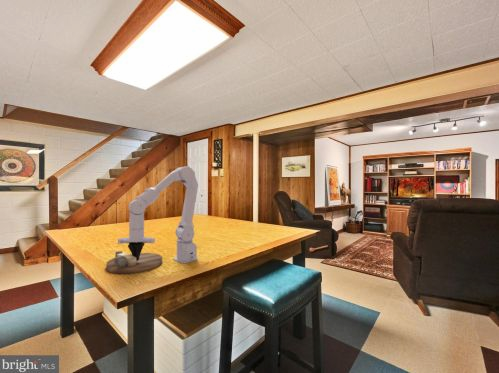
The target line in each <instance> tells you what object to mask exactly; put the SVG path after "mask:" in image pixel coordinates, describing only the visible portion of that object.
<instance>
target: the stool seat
mask: <svg viewBox="0 0 499 373" xmlns="http://www.w3.org/2000/svg"><path fill="white" fill-rule="evenodd" d="M127 254H128V253H127ZM128 255H131V256H132V253H129V254H128ZM105 264H106V265H105V266H106V267H105V268H106V271H107V272H109V273H111V274H115V275H117V274H118V275H132V274H139V273H140V274H141V273H143V272H144V273H145V272H149V271H152V270H154V269H156V268H159V267H160V266H161V265H162V264H163V256H162V255H160V254H158V253H155V252H154V253H153V252H150V253H149V252H141V253H140V257H139V260H138V261H136V265H134V266H128V265H126V260H125V259H123V258H121V257H113V258H112V259H110V260H108V261H107V262H106V263H105Z"/></svg>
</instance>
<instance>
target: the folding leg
mask: <svg viewBox="0 0 499 373" xmlns="http://www.w3.org/2000/svg"><path fill="white" fill-rule="evenodd" d="M114 254H115V257H121V258H123V259H125V260H126V265H128V266H134V265H136V257H133V256H131V255H128V253H124V252H123V251H122V250H118V251H115V252H114ZM115 257H114V258H115Z"/></svg>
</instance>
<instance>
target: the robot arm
mask: <svg viewBox="0 0 499 373" xmlns="http://www.w3.org/2000/svg"><path fill="white" fill-rule="evenodd" d="M178 181H179V182H181V183H182V184H183V186H185V193H184V194H185V195H184V201H183V206H182V213H181V219H180V221H179V222H178V226H177V227H176V229H175V232H174V233H175V235H176V237H177V239H176V256H175V257H173V258H172V260H173V261H176V262H178V263H182V264H188V263H191V262H195V261H198V260H199V258H197V251H198V247H197V244H196V243H195V242H193V240H194V237H195V230H194V228H195V226H194V222H193V218H194V212H195V207H196V199H197V194H198V188H199V183H198V181H197V178H196V171H195V170H194V169H193V168H192V167H190V166H189V165H188V166H187V165H186V166H181V167H180V166H179V167H177V168H176V169H175V170H173V171H171V172H170V173H169V174H168V175H166V176H165V177H164V178H163V179H162V180H161V181H159V183H158V184H156V185H155V186H154V187H148V188H147V187H146V188H145V189H143V190H144V192H142V193H140V194H139V196H138V195H137V196H135V200H131V202H129V205H128V207H127V208H128V211H129V220H128V237H121V238H118V239H117V244H128V245H127V248H128V249H129V252H130V254H132V256H133V257H136V261H138V260H139V257H140V253H142V250H143V247H145V246H144V245H145V244H155V242H156V238H155V237H145V214H144V213H145V212H146V209H147V207H149V206H150V205H151V204H153V203H154V202H155V201H156V200H157V199H158V198H159V197H160V193H161V192H162V191H164V190H165V189H166V188H167V187H169V186H170V185H171V184H172V183H174V182H178Z"/></svg>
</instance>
